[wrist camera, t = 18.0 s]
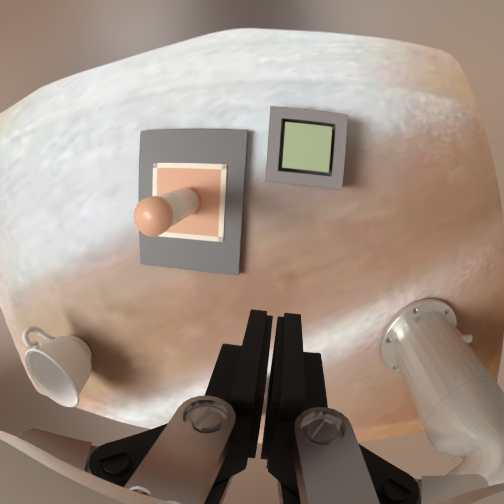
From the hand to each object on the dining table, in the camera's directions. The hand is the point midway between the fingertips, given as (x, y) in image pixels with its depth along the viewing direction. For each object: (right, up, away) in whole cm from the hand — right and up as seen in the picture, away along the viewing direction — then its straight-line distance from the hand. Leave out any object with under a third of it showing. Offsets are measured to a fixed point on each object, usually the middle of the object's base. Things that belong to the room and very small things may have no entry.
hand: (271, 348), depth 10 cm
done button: (+5, +14, +20) cm, 25 cm away
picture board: (-8, +9, +24) cm, 27 cm away
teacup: (-33, -13, +35) cm, 49 cm away
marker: (-8, +9, +24) cm, 27 cm away
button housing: (+5, +15, +21) cm, 26 cm away
